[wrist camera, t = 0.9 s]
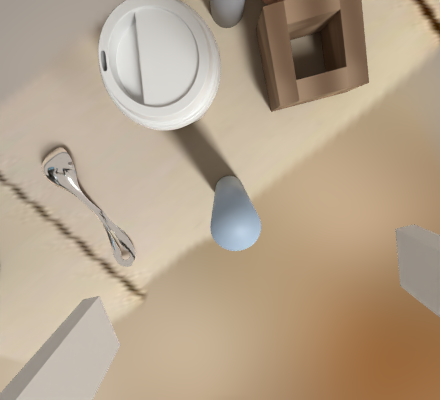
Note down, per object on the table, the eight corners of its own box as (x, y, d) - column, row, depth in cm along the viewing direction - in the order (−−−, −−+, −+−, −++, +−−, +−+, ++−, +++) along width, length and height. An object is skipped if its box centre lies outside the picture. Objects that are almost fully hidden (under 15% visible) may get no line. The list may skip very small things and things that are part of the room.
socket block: (271, 111, 31) (280, 105, 27) (255, 29, 29) (262, 6, 24) (345, 92, 31) (368, 82, 26) (335, 6, 29) (359, -22, 24)
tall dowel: (219, 205, 35) (217, 255, 19) (212, 179, 34) (204, 209, 18) (245, 198, 34) (265, 244, 19) (239, 172, 33) (255, 197, 18)
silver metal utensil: (138, 265, 33) (111, 280, 34) (147, 254, 36) (122, 268, 37) (52, 139, 30) (25, 158, 31) (70, 141, 34) (45, 158, 34)
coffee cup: (161, 46, 30) (103, -47, 15) (231, 75, 30) (240, 12, 16) (141, 120, 32) (73, 101, 17) (207, 145, 33) (195, 147, 18)
